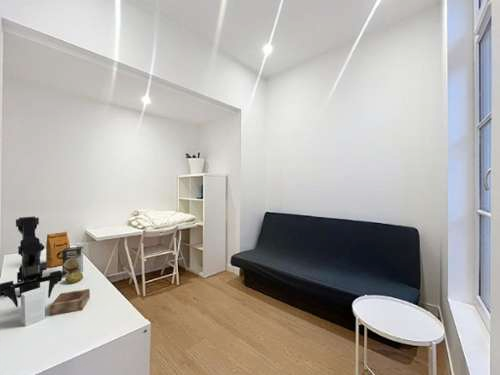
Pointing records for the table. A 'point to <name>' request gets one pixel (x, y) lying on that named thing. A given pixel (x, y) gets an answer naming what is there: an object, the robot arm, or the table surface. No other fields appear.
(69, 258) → the coffee box
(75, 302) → the walnut socket block
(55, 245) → the coffee package
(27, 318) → the skincare box
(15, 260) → the table surface
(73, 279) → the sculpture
